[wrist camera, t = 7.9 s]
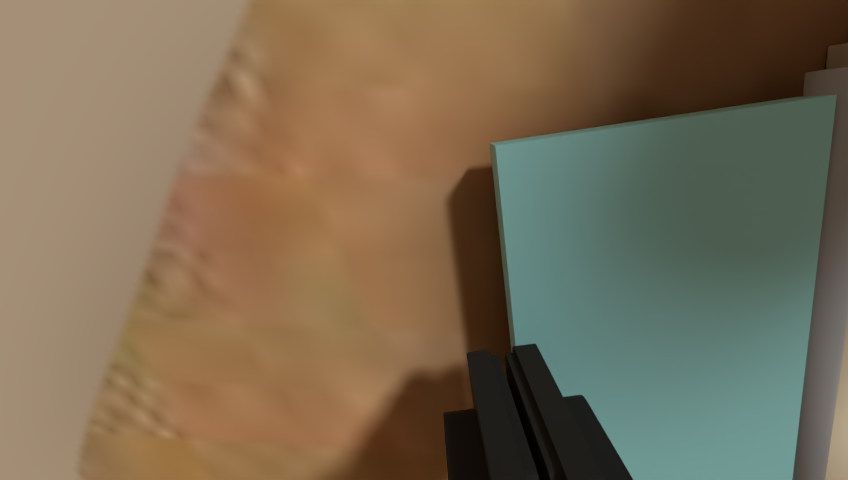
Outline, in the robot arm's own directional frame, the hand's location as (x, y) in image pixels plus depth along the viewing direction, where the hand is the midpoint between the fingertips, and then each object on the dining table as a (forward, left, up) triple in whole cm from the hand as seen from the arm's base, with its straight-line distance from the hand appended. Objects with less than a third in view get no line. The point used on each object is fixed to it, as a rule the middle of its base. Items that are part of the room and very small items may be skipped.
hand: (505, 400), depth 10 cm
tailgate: (-8, 0, -1) cm, 8 cm away
